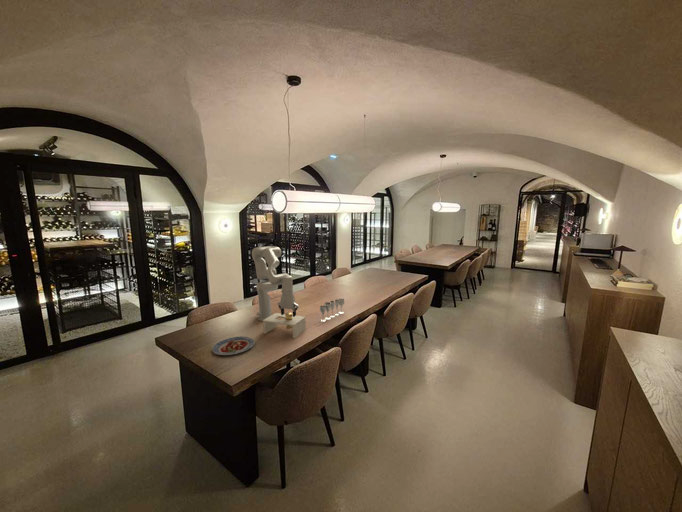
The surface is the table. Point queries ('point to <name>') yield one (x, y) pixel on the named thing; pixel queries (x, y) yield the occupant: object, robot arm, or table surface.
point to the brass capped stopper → (288, 317)
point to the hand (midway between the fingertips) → (288, 315)
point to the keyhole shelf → (285, 323)
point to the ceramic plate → (233, 345)
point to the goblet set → (331, 305)
